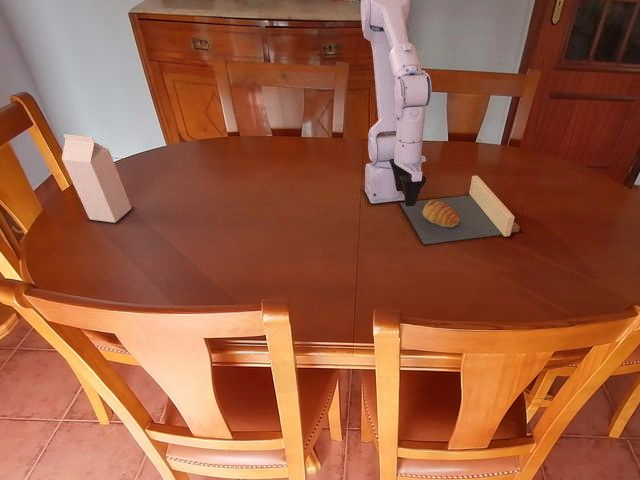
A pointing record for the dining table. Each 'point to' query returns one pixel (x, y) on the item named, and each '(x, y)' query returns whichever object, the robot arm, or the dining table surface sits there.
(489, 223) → the placemat
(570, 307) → the dining table surface
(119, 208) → the milk carton
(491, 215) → the back board
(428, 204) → the pastry
